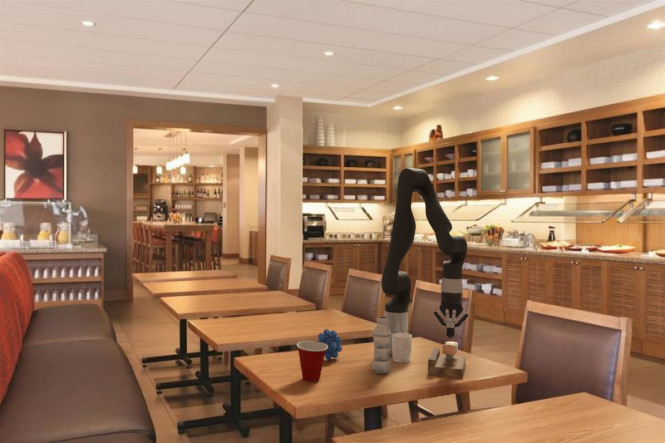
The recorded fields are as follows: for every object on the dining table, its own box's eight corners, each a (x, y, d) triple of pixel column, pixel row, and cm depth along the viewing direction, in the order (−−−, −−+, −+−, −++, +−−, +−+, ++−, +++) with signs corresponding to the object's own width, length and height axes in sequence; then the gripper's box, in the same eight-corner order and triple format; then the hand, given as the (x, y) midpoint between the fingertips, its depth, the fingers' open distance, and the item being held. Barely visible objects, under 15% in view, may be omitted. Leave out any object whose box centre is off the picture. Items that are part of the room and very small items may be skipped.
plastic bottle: (392, 371, 208) (393, 316, 207) (387, 376, 201) (388, 319, 201) (374, 369, 210) (375, 315, 209) (369, 374, 203) (370, 318, 203)
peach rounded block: (441, 359, 204) (442, 347, 204) (442, 356, 209) (443, 344, 208) (455, 360, 203) (455, 348, 203) (455, 357, 207) (456, 345, 207)
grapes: (322, 364, 216) (322, 332, 216) (312, 360, 222) (313, 329, 221) (347, 360, 222) (348, 329, 222) (338, 356, 228) (338, 326, 228)
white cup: (410, 363, 219) (411, 337, 219) (390, 362, 220) (390, 336, 220) (412, 358, 227) (412, 333, 226) (392, 357, 228) (392, 332, 228)
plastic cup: (316, 386, 189) (316, 349, 189) (289, 380, 195) (290, 345, 195) (333, 378, 198) (334, 343, 198) (307, 373, 204) (308, 339, 204)
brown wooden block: (427, 374, 205) (428, 359, 205) (433, 361, 222) (433, 347, 222) (462, 377, 202) (462, 362, 201) (465, 364, 219) (465, 350, 219)
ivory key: (444, 355, 216) (444, 343, 216) (445, 352, 220) (445, 341, 220) (457, 356, 214) (457, 344, 214) (458, 353, 219) (458, 342, 219)
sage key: (443, 358, 210) (443, 346, 210) (444, 355, 214) (444, 343, 214) (456, 359, 209) (456, 347, 209) (457, 356, 213) (457, 344, 213)
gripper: (470, 290, 213) (469, 337, 213) (434, 287, 216) (433, 333, 217) (470, 293, 205) (468, 341, 206) (432, 290, 209) (430, 338, 210)
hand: (450, 337), depth 211 cm, fingers closed
